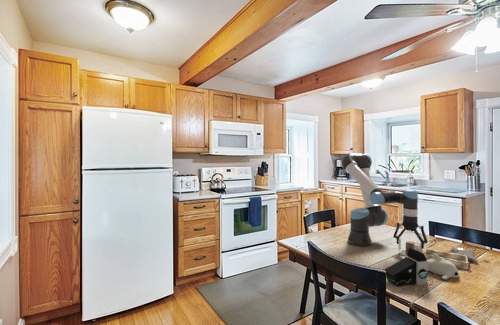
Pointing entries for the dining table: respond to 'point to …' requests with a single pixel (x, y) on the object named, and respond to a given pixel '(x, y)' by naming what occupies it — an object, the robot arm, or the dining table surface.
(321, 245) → the dining table surface
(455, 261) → the birch crate
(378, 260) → the dining table surface
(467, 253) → the lying tin can
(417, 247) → the ramekin
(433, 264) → the toy
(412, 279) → the decorative object
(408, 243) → the walnut block
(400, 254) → the slate coaster
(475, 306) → the dining table surface
